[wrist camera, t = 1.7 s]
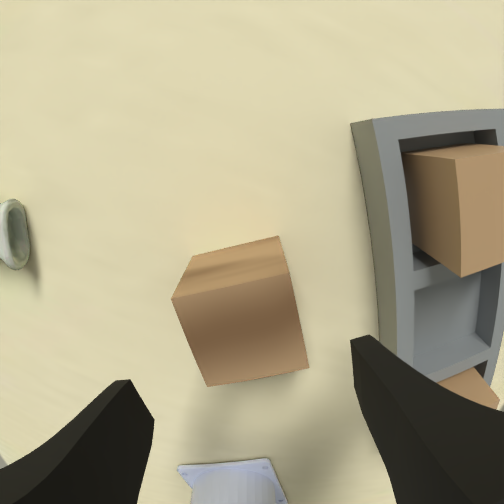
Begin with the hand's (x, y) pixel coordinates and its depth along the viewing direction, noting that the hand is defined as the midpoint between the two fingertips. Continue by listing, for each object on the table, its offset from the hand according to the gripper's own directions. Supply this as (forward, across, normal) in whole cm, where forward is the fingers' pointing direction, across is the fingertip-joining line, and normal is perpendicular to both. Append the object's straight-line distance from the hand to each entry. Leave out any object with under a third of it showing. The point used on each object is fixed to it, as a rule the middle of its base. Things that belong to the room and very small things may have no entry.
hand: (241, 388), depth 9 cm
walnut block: (+8, 0, 0) cm, 8 cm away
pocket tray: (+8, -11, +4) cm, 14 cm away
